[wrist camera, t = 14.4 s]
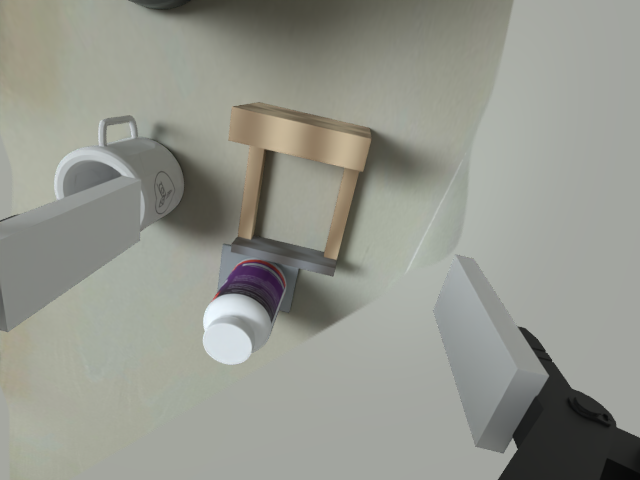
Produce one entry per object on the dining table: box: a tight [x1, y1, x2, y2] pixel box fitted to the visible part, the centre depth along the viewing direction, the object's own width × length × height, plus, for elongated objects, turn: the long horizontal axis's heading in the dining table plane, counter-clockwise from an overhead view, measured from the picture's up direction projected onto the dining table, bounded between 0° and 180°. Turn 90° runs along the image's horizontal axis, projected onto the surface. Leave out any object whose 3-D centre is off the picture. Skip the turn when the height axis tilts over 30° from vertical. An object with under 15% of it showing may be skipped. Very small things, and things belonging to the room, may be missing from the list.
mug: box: [54, 115, 184, 232], centre depth 45 cm, size 14×11×10 cm
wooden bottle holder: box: [228, 102, 371, 276], centre depth 44 cm, size 14×18×10 cm
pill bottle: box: [203, 258, 286, 365], centre depth 47 cm, size 8×8×14 cm
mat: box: [217, 244, 299, 313], centre depth 54 cm, size 11×8×1 cm
